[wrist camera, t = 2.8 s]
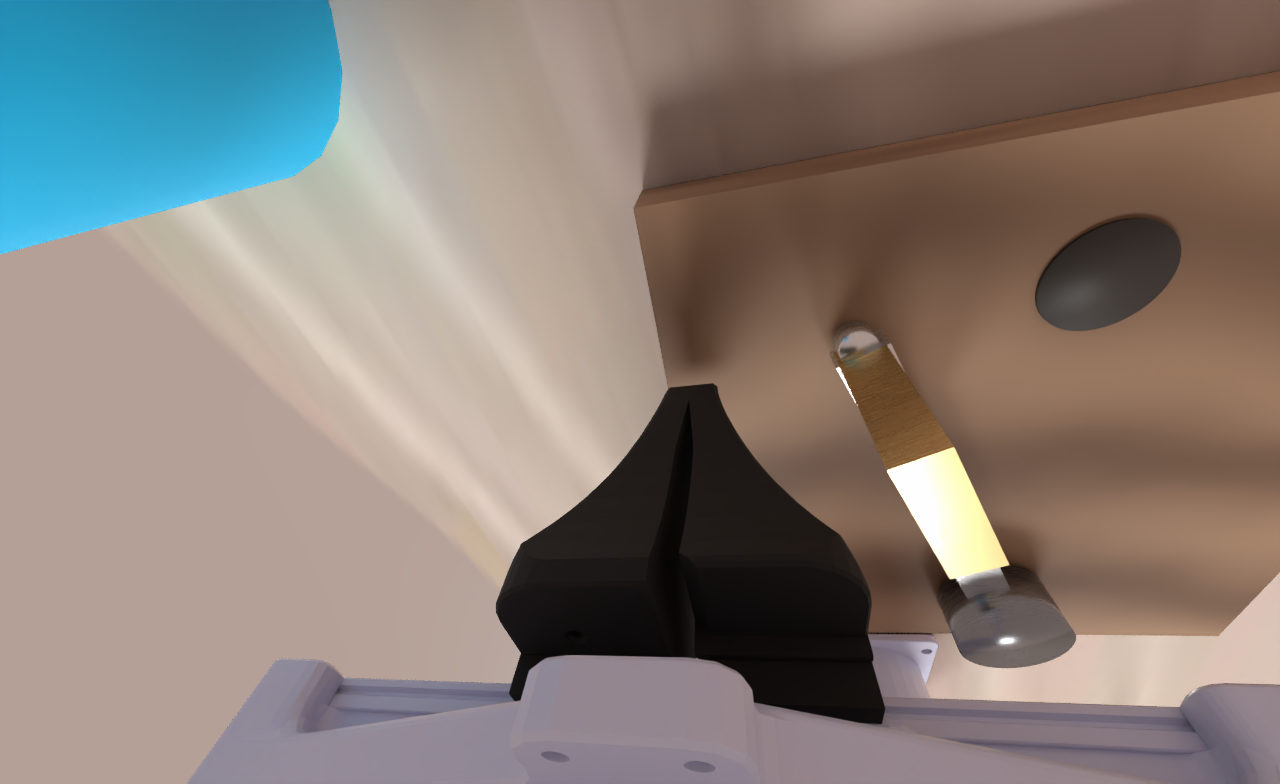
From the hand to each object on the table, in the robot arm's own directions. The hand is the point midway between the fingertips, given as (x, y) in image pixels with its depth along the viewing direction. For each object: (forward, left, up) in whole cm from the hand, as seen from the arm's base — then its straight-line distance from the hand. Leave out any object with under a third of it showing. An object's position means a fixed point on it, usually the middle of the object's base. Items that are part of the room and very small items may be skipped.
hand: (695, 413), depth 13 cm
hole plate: (-4, -9, -3) cm, 11 cm away
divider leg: (-5, -8, -1) cm, 9 cm away
